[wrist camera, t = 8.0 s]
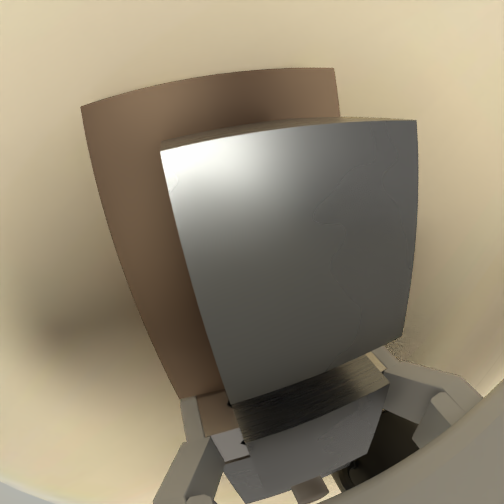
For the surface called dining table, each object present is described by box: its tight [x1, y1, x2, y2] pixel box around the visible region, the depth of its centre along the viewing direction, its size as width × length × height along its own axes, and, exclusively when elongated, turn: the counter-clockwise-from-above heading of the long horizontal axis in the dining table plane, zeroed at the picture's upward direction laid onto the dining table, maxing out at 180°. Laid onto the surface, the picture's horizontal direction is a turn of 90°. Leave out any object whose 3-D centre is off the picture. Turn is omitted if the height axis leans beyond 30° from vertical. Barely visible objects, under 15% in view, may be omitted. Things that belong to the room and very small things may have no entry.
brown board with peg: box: [81, 68, 340, 504], centre depth 10 cm, size 8×18×7 cm, turn 8°
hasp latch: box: [160, 117, 418, 504], centre depth 9 cm, size 16×6×4 cm, turn 9°
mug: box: [331, 411, 420, 493], centre depth 19 cm, size 9×12×9 cm
